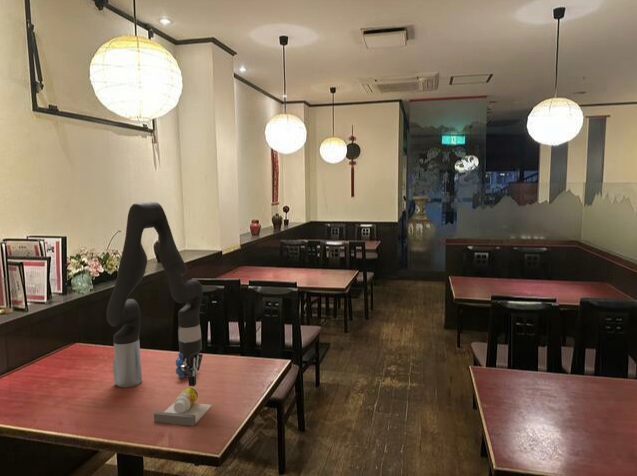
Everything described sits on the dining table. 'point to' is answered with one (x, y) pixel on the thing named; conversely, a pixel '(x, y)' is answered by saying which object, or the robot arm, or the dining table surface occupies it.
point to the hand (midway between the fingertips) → (192, 385)
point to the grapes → (179, 363)
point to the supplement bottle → (185, 400)
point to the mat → (182, 415)
